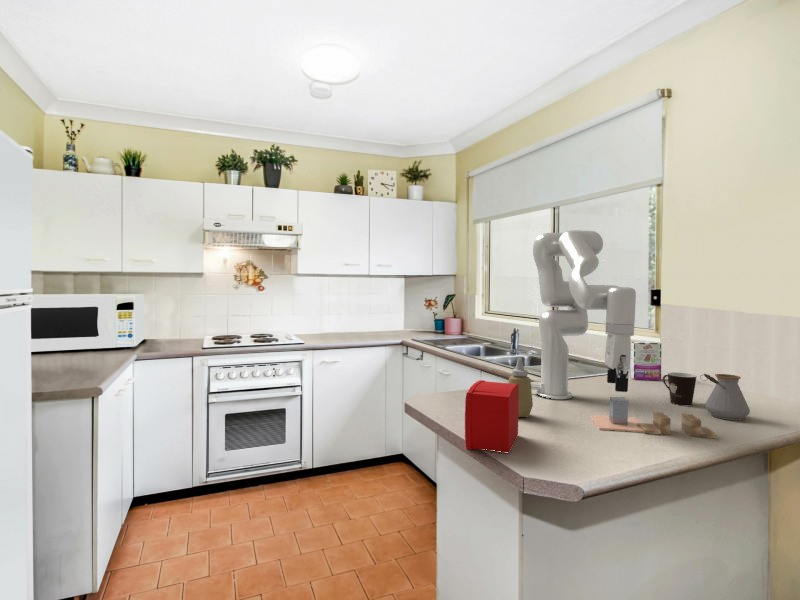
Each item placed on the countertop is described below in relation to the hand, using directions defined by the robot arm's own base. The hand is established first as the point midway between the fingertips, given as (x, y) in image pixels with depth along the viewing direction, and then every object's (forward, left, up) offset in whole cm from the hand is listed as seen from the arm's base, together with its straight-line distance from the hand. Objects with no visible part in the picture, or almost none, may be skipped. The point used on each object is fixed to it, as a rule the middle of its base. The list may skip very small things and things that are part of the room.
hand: (616, 387), depth 135 cm
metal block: (0, -1, -10) cm, 10 cm away
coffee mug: (+28, +32, -11) cm, 44 cm away
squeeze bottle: (-28, +2, -11) cm, 30 cm away
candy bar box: (+29, +73, -11) cm, 80 cm away
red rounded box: (-36, -24, -11) cm, 44 cm away
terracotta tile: (0, -1, -11) cm, 11 cm away
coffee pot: (+32, +12, -11) cm, 36 cm away
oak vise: (+14, -5, -11) cm, 19 cm away
